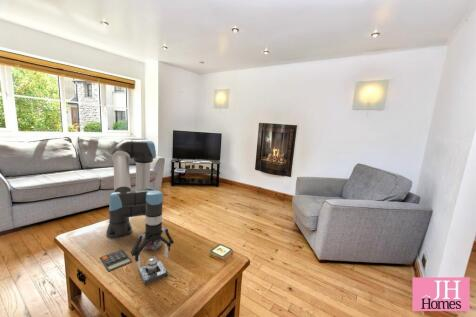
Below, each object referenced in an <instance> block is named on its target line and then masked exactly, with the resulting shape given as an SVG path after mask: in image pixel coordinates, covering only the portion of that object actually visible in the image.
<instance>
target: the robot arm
mask: <svg viewBox="0 0 476 317" xmlns="http://www.w3.org/2000/svg"><path fill="white" fill-rule="evenodd" d="M110 158H111V160H112V162H113V189H114V192H111V193H110V194H109V204H108V206H109V207H108V211H109V212H108V215H109V216H108V217H109V218H108V220H109V221H108V222H109V223H108V226H107V229H106V232H105V234H106V235H105V236H106V237H107V238H110V239H121V238H125V237H127V236H129V235H130V234H132V232H133V226H132V225H131V222H130V218H135V217H142V216H145V229H144V230H145V232H144V233H143V234H141V233H138V236H137V239H136V241H135V243H134V245H133V246H132V249H131V251H130V254H131V257H134V260H135V262H136V266H137V269H138V268H140V267H141V252H142V251H143V250H144V249H145V248H146V247H145V246H146V245H147V244H148V243H149V242H150V241H154V240H157V239H158V238H159V239H160V240H162V243H164V257H165V259H169V252H170V250H171V246H172V245H173V244H174V240H173V238H172V237H171V234H170V233H169V229H168V228H167V227H166V226H165V227H164V228H163V222H162V221H163V204H164V202H163V201H164V197H163V196H164V195H163V192H162V191H161V190H158V189H157V190H156V189H155V188H153V187H150V183H151V182H150V181H151V180H150V179H151V176H150V175H151V164H152V163H153V162H154V159H156V158H157V151H156V146H155V143H154V142H153V141H152V140H146V139H145V140H140V139H139V140H138V139H137V140H134V139H132V140H131V139H126V140H122V141H120V142H119V143H117V144H116V145H115V146H114V148H113V149H112V151H111V156H110ZM130 159H131V160H133V162H134V164H135V167H136V168H135V190H132V184H131V176H130V174H131V172H130V163H129V162H130ZM163 233H164V234H165V235H166V237H167V238H168V239H166V238H165V237H164V236H162V235H163ZM145 237H146V238H145ZM147 239H148V240H147ZM142 240H143V241H142Z"/></svg>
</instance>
